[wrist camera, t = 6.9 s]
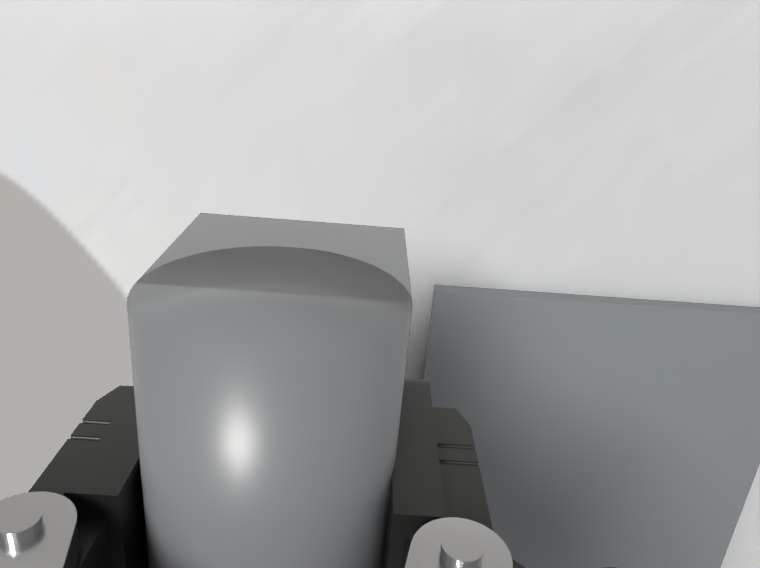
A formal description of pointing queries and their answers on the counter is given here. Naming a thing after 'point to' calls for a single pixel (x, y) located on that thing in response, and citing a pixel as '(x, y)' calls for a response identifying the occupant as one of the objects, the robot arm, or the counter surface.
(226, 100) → the counter surface
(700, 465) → the slate mat
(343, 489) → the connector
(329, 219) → the counter surface
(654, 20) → the counter surface
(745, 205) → the counter surface
